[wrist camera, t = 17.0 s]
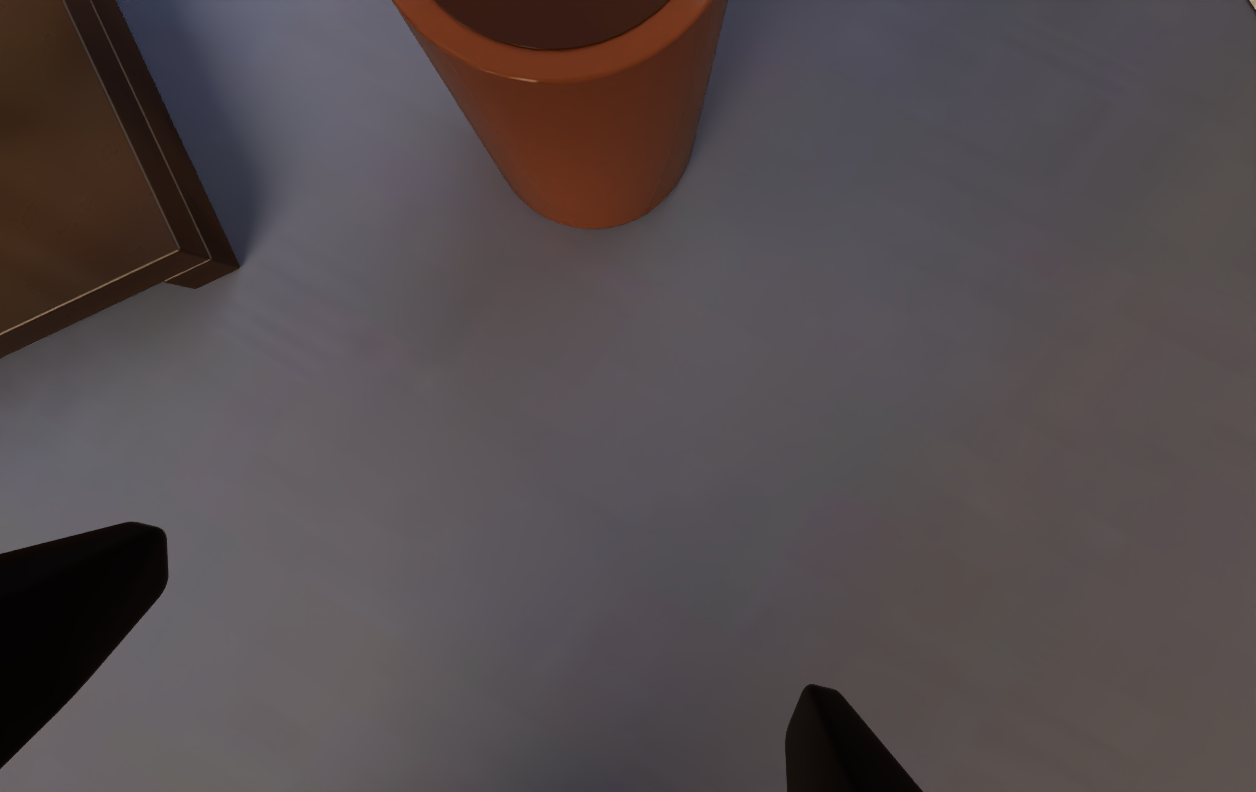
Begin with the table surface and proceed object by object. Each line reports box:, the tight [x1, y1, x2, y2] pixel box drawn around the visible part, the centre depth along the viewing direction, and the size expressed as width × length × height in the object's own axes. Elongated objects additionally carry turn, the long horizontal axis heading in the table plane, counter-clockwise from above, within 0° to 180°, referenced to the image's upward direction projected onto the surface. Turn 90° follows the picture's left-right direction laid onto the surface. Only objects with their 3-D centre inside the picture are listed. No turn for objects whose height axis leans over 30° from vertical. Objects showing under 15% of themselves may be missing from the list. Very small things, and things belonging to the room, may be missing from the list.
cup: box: [392, 0, 728, 229], centre depth 14 cm, size 6×6×9 cm
